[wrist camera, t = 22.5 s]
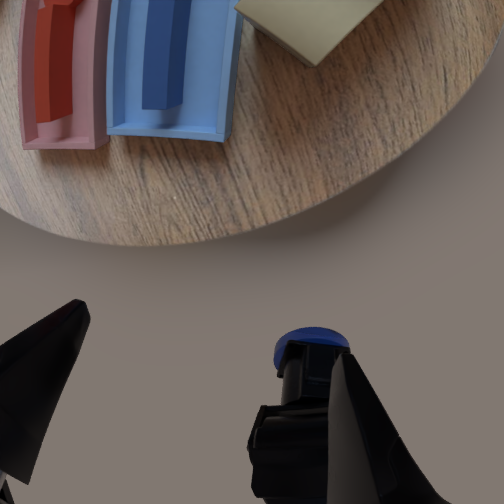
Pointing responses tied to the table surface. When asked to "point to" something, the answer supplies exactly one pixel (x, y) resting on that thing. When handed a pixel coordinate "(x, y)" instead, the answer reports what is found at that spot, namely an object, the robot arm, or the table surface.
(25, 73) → the rose tray
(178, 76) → the blue paddle
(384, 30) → the table surface
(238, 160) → the table surface
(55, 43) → the red spoon
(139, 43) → the blue tray
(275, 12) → the wooden rectangular block
